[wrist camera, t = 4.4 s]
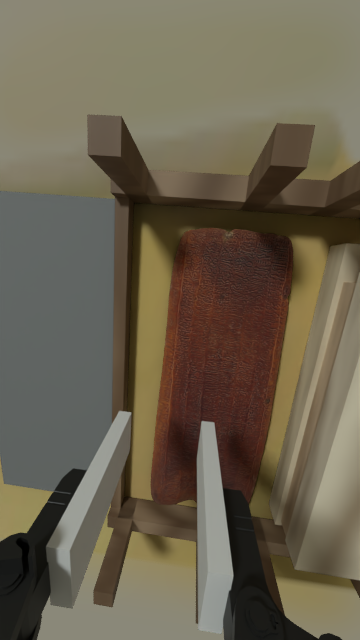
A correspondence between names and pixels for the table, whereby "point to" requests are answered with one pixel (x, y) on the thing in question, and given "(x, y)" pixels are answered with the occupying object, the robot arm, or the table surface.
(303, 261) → the table surface
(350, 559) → the offcut stack
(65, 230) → the mat
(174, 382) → the wooden tablet
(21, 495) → the table surface
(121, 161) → the rack
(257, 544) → the robot arm
